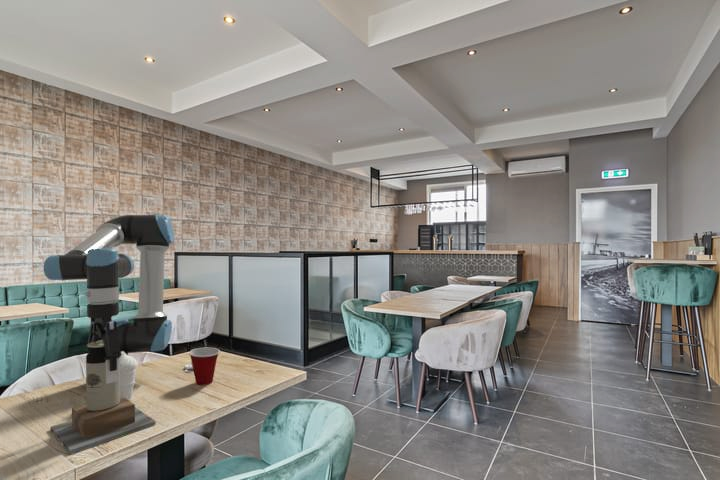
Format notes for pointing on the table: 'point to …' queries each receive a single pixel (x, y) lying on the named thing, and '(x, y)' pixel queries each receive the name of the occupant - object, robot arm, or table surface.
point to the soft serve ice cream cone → (127, 375)
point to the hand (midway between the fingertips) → (103, 376)
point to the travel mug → (100, 380)
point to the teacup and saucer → (188, 367)
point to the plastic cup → (204, 364)
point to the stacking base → (100, 438)
